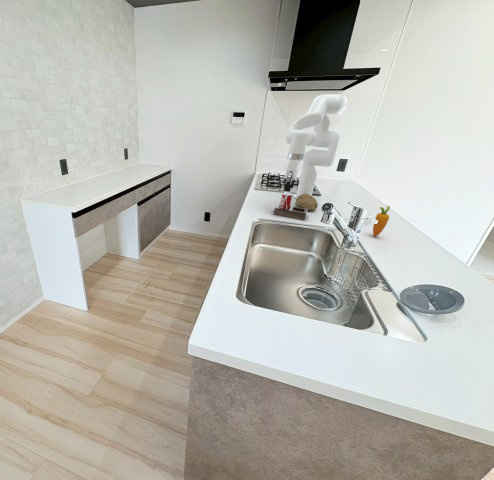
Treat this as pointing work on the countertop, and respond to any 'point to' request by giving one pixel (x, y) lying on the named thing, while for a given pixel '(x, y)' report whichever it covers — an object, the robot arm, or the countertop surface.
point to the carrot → (381, 221)
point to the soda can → (286, 200)
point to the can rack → (291, 212)
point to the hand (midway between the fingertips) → (288, 189)
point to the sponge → (307, 201)
